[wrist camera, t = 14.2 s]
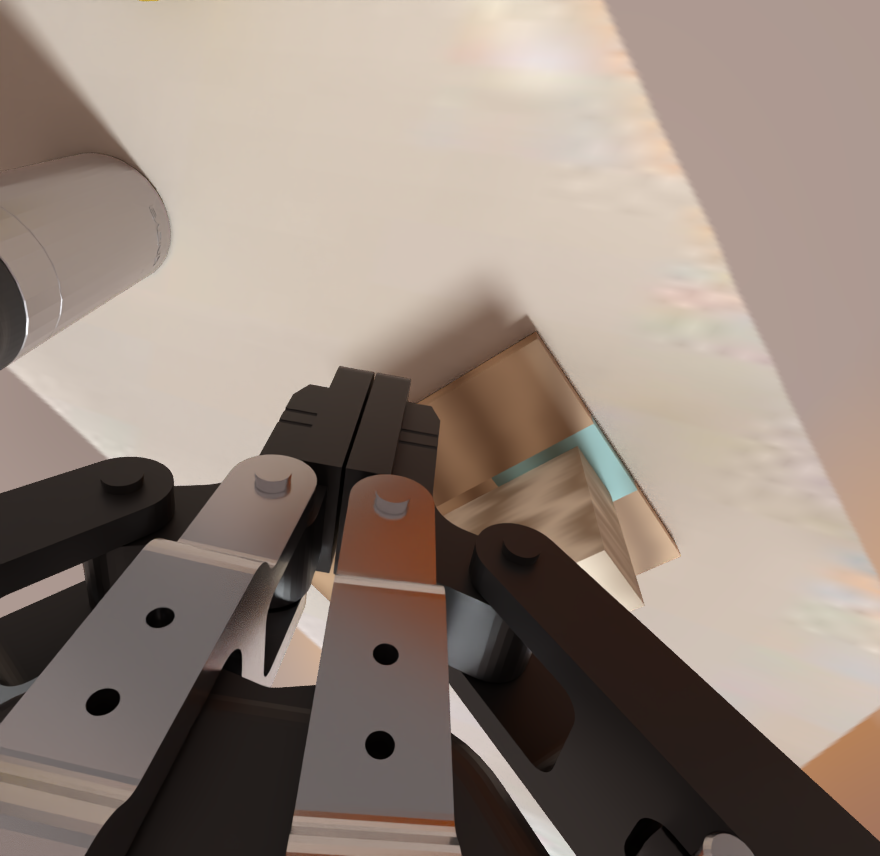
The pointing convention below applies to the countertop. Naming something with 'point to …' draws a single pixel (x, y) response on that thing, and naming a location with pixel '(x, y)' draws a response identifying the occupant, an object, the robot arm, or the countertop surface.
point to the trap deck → (527, 444)
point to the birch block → (563, 519)
